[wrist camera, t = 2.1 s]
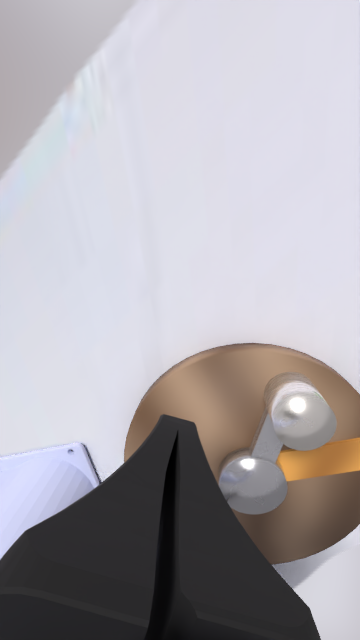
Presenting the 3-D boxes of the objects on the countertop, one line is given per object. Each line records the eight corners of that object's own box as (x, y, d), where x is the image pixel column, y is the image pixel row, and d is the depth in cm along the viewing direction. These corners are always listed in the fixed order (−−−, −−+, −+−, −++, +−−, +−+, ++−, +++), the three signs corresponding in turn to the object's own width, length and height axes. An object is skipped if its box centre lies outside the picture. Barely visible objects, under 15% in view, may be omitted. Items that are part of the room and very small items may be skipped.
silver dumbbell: (270, 506, 21) (284, 564, 17) (210, 489, 21) (212, 544, 17) (328, 375, 18) (360, 411, 14) (258, 356, 18) (272, 388, 14)
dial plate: (166, 557, 26) (164, 579, 24) (96, 374, 22) (87, 386, 20) (386, 530, 23) (400, 553, 21) (357, 314, 19) (371, 322, 17)
